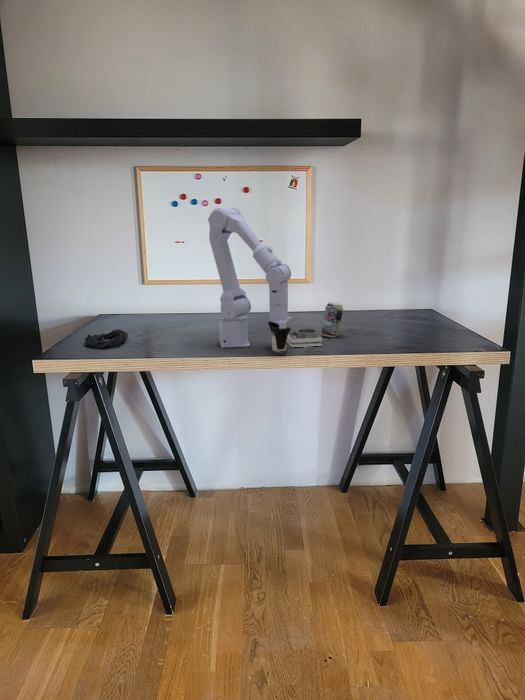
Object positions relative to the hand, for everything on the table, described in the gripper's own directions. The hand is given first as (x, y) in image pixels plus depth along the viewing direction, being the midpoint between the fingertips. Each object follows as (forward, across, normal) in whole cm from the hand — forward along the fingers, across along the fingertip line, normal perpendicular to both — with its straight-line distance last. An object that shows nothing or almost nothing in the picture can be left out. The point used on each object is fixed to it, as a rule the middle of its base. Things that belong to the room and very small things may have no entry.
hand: (278, 346), depth 164 cm
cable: (+2, +20, +56) cm, 60 cm away
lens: (+2, 0, 0) cm, 2 cm away
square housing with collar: (+1, +6, -10) cm, 11 cm away
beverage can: (+2, +15, -22) cm, 26 cm away
